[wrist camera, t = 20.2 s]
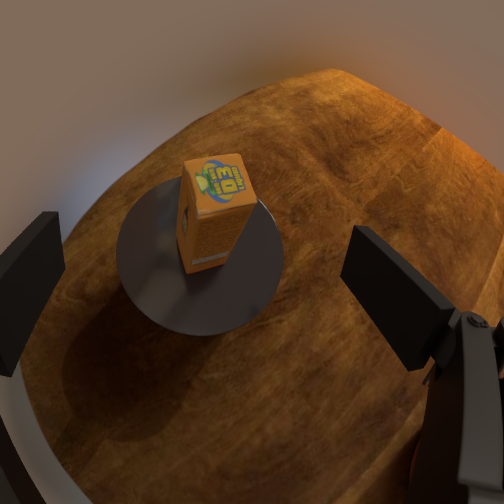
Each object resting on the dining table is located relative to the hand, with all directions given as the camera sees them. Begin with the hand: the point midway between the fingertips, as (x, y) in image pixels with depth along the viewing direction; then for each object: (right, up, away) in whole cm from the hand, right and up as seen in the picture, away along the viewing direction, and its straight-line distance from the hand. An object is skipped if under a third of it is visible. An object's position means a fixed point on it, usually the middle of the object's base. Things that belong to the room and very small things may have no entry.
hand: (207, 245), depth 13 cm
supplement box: (-2, 0, +11) cm, 11 cm away
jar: (-4, -3, +20) cm, 21 cm away
